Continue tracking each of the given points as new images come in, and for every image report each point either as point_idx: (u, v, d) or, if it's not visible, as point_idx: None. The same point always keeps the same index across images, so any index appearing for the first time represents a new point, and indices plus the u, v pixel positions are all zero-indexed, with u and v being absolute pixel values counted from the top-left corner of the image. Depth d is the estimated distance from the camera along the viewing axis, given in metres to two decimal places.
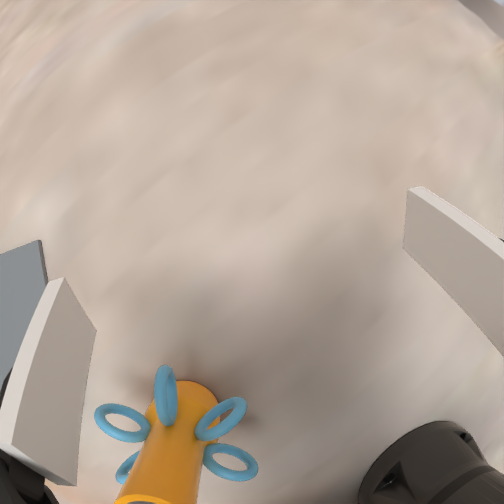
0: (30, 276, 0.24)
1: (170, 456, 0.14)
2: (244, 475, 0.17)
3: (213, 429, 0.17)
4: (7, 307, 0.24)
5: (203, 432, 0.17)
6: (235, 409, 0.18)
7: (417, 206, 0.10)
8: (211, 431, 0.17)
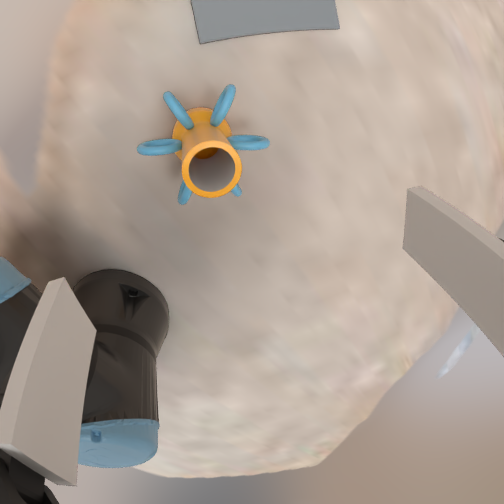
0: (313, 16, 0.27)
1: None
2: (187, 199, 0.28)
3: None
4: None
5: None
6: (241, 191, 0.30)
7: (417, 206, 0.10)
8: None
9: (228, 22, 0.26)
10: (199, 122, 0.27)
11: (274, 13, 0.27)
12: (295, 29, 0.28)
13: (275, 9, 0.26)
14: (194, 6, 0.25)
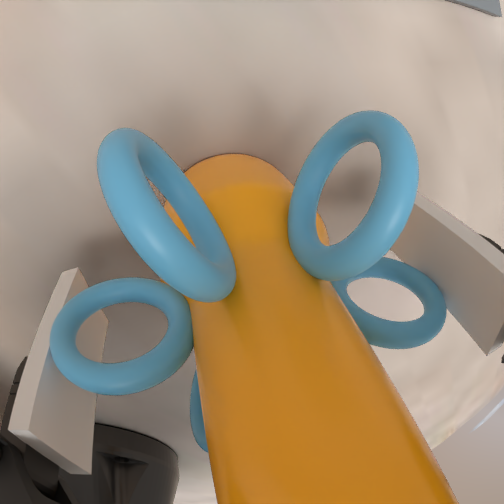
0: None
1: None
2: None
3: None
4: None
5: None
6: None
7: None
8: None
9: None
10: (252, 247, 0.08)
11: None
12: None
13: None
14: None
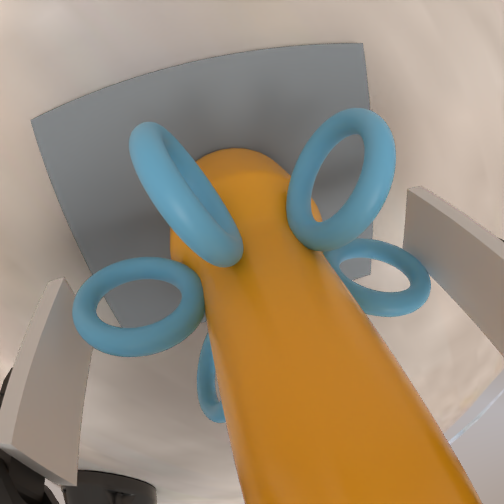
0: None
1: None
2: None
3: None
4: None
5: None
6: None
7: (417, 206, 0.10)
8: None
9: (167, 306, 0.18)
10: (256, 225, 0.09)
11: None
12: None
13: None
14: None
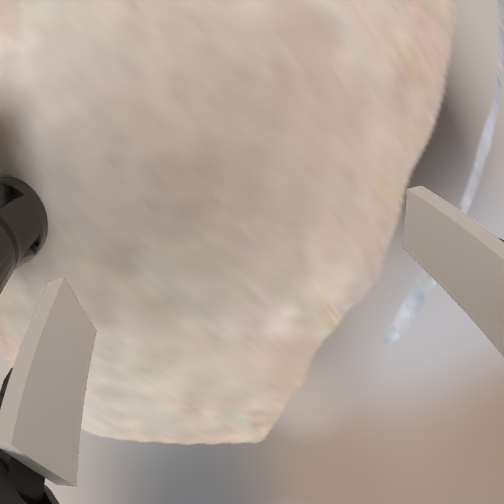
0: None
1: None
2: None
3: None
4: None
5: None
6: None
7: (417, 206, 0.10)
8: None
9: None
10: None
11: None
12: None
13: None
14: None
